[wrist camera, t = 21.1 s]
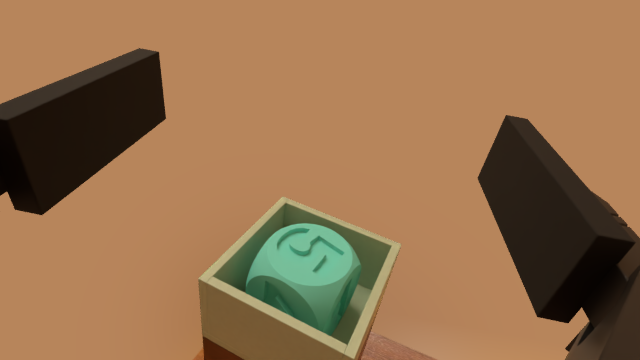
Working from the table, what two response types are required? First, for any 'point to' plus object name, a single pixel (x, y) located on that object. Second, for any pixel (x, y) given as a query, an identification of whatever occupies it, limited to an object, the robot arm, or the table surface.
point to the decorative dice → (306, 275)
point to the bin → (276, 326)
